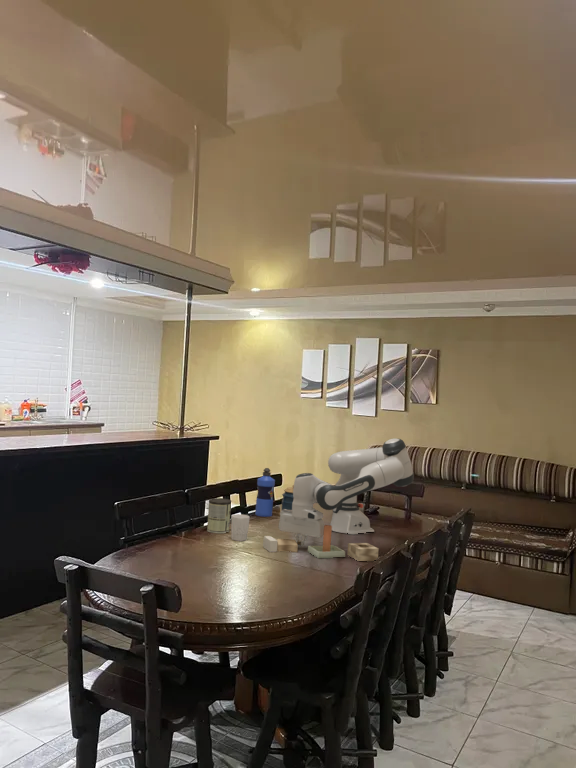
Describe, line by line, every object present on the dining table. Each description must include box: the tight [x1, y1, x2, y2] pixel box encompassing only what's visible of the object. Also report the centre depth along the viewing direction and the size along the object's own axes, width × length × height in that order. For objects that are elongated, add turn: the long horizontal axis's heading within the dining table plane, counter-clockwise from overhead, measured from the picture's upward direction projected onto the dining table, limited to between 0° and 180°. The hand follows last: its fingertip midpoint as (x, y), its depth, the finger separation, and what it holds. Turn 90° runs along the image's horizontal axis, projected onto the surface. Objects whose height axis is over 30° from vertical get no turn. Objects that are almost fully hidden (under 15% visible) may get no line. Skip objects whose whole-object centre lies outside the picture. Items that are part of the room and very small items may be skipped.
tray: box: [307, 544, 346, 559], centre depth 237 cm, size 12×10×2 cm
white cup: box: [230, 513, 251, 542], centre depth 253 cm, size 8×8×10 cm
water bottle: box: [255, 467, 276, 518], centre depth 311 cm, size 9×9×25 cm
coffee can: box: [206, 497, 232, 534], centre depth 266 cm, size 10×10×14 cm
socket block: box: [346, 542, 380, 562], centre depth 235 cm, size 9×9×5 cm
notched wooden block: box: [276, 538, 299, 553], centre depth 242 cm, size 8×10×3 cm
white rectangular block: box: [262, 535, 278, 553], centre depth 239 cm, size 3×8×4 cm, turn 23°
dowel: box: [322, 524, 332, 552], centre depth 237 cm, size 3×3×11 cm
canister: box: [280, 484, 294, 512], centre depth 309 cm, size 13×13×18 cm
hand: (300, 544), depth 244 cm, fingers closed
